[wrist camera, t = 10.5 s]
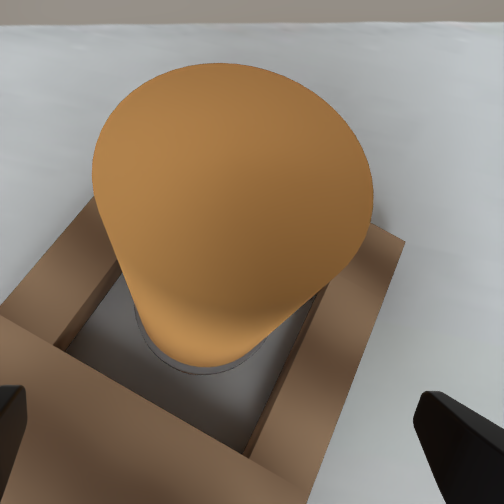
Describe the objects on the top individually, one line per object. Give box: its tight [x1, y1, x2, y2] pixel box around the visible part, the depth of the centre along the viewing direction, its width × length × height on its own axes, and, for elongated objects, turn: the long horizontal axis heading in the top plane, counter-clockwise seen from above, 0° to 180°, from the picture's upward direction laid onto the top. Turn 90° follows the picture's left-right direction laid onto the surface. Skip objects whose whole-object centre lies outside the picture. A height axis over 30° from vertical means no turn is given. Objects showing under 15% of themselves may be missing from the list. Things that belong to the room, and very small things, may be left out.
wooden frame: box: [0, 196, 405, 504], centre depth 19 cm, size 22×16×2 cm
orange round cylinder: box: [92, 63, 373, 375], centre depth 15 cm, size 6×6×14 cm
